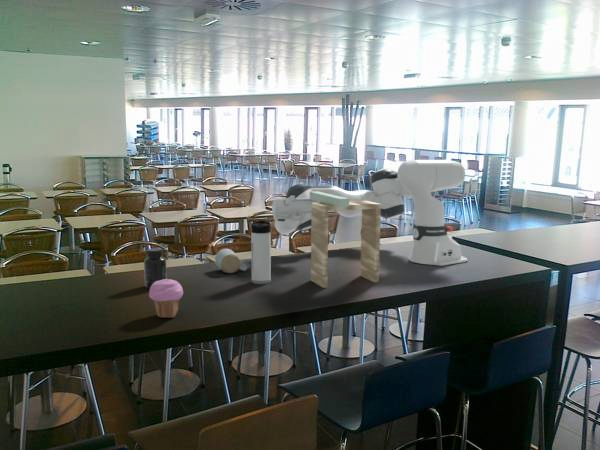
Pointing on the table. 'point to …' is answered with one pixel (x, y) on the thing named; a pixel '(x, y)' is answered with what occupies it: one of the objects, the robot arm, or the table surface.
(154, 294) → the cupcake
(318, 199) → the bar
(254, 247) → the travel mug
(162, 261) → the supplement bottle
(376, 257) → the frame
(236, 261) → the ceramic mug
